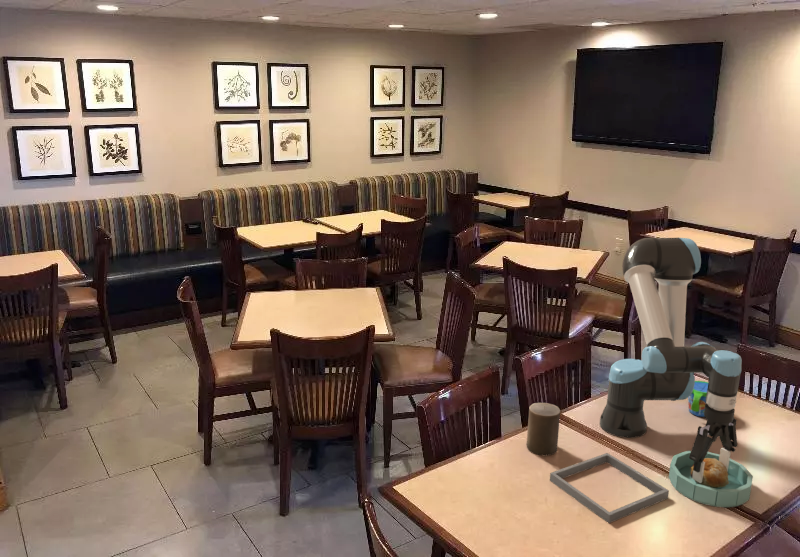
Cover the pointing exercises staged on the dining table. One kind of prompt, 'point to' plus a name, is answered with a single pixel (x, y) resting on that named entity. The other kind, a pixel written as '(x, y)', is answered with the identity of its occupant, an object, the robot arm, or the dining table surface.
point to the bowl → (718, 497)
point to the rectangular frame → (608, 516)
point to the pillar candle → (543, 428)
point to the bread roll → (713, 473)
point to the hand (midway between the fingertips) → (710, 475)
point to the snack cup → (698, 398)
